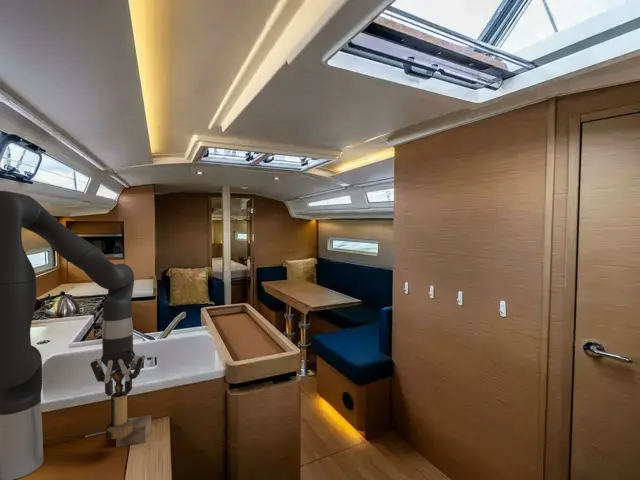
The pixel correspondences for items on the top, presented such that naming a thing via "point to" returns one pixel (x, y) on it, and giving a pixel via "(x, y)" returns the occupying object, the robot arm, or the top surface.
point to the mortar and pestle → (118, 411)
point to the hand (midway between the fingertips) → (119, 393)
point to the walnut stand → (137, 431)
